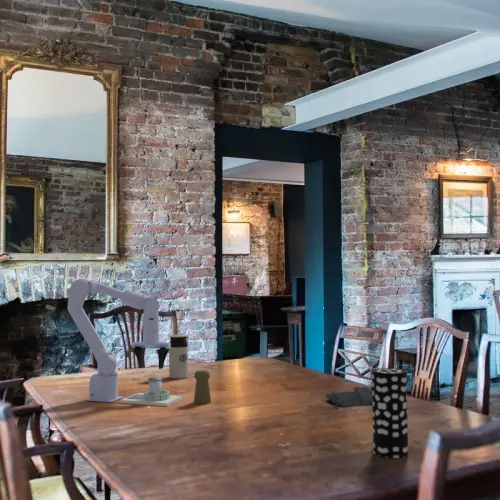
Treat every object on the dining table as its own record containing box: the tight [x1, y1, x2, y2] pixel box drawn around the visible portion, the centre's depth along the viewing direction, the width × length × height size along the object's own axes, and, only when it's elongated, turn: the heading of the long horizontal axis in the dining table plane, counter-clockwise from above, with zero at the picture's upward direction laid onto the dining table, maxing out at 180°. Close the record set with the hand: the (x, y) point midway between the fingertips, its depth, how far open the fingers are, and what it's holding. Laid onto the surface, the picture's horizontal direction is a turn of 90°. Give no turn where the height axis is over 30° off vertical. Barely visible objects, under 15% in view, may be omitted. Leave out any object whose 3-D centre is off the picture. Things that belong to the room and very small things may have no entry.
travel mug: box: [168, 333, 189, 380], centre depth 258 cm, size 8×8×18 cm
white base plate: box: [119, 389, 184, 407], centre depth 211 cm, size 18×12×3 cm, turn 70°
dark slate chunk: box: [326, 386, 373, 408], centre depth 208 cm, size 15×22×5 cm
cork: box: [193, 369, 212, 405], centre depth 208 cm, size 6×6×11 cm
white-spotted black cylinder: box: [371, 367, 409, 459], centre depth 149 cm, size 8×8×20 cm
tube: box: [147, 376, 163, 395], centre depth 210 cm, size 5×5×7 cm
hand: (151, 368), depth 217 cm, fingers open, 7 cm apart
